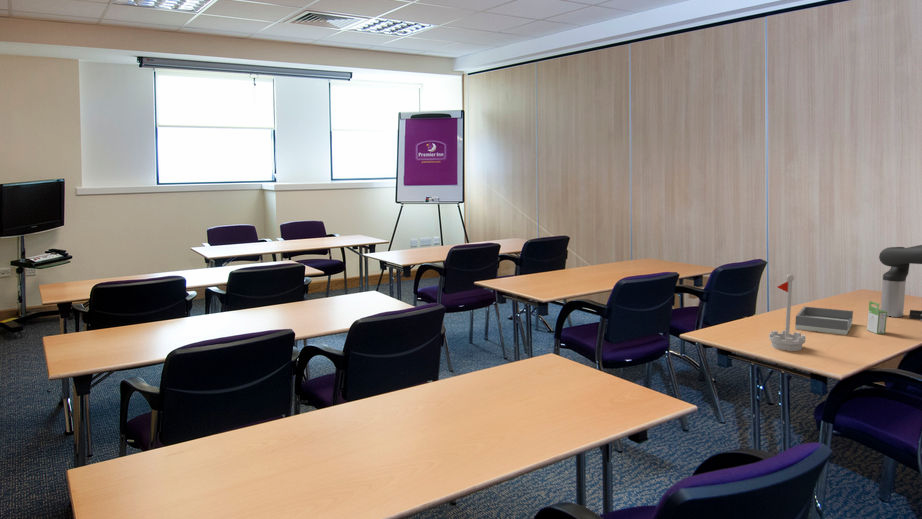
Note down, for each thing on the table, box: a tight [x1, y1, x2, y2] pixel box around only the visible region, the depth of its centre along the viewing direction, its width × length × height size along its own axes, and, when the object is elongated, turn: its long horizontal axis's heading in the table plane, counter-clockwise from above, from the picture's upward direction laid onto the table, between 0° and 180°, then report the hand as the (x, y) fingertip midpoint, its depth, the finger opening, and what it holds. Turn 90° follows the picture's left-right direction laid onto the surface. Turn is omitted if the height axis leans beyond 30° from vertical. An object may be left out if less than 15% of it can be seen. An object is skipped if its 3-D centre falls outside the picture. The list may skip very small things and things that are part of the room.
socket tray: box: [794, 306, 854, 336], centre depth 290 cm, size 24×20×6 cm
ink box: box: [866, 300, 888, 335], centre depth 278 cm, size 7×4×13 cm, turn 179°
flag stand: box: [768, 273, 806, 352], centre depth 256 cm, size 13×13×30 cm
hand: (909, 314), depth 271 cm, fingers open, 8 cm apart
